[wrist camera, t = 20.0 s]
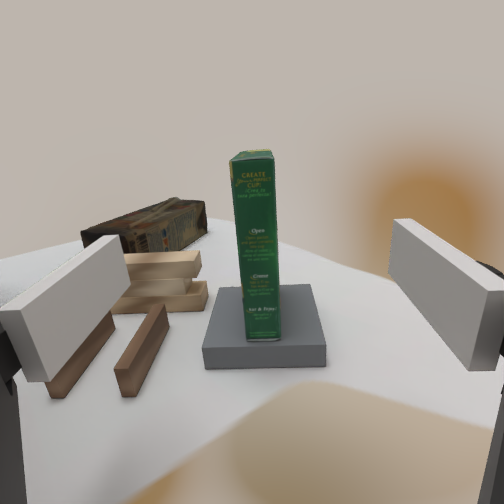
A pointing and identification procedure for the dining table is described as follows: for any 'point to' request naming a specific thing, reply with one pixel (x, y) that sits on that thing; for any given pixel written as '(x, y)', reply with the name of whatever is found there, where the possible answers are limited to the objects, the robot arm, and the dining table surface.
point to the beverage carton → (154, 227)
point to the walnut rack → (131, 362)
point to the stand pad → (265, 352)
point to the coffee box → (257, 242)
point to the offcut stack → (163, 283)
